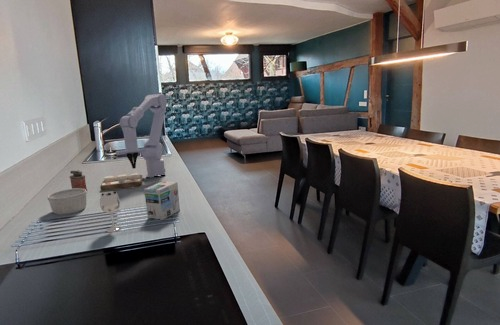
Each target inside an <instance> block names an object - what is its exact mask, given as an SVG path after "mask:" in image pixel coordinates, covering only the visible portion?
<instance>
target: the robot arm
mask: <svg viewBox="0 0 500 325" xmlns="http://www.w3.org/2000/svg"><path fill="white" fill-rule="evenodd" d="M167 103H168V100H167V97H166V95H165V94H164V93H159V94H157V93H156V94H147V95H146V96H145V97H144V100H142V103H140V105H139V106H134V107H132V109H131V110H130V111H129V112H128V113H127V114H126V115H124V116H122V117H121V118H120V119H119V122H118V123H119V126H120V128H121V130H122V133H123V139H124V146H125V147H124V148H125V149H123V150H122V149H121V150H116V151H115V154H116V156H122V155H126V158H127V159H128V161H129V163H130V164H131V168H132V169H136V167H137V165H136V164H137V159H138V156H139V154H141V157H142V158H143V159H144V161H145V164H146V172H147V174H146V178H147V177H150V178H155V177H154V176H158V175H165V176H166V168H165V162H164V161H165V160H164V158H163V157H162V156H163V145H162V144H161V143H160V140H161V135H162V129H163V125H164V118H165V114H166V111H167V110H166V109H167V105H168V104H167ZM147 110H150V111H151V112H152V113H153V119H152V123H151V128H150V132H149V138H148V141H147V142H145V143H144V144H143V148H139V146H138V137H137V130H136V128H137V127H138V124H139V121H140V120H141V119H142V118H143V117H144V115H145V112H146V111H147Z"/></svg>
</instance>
